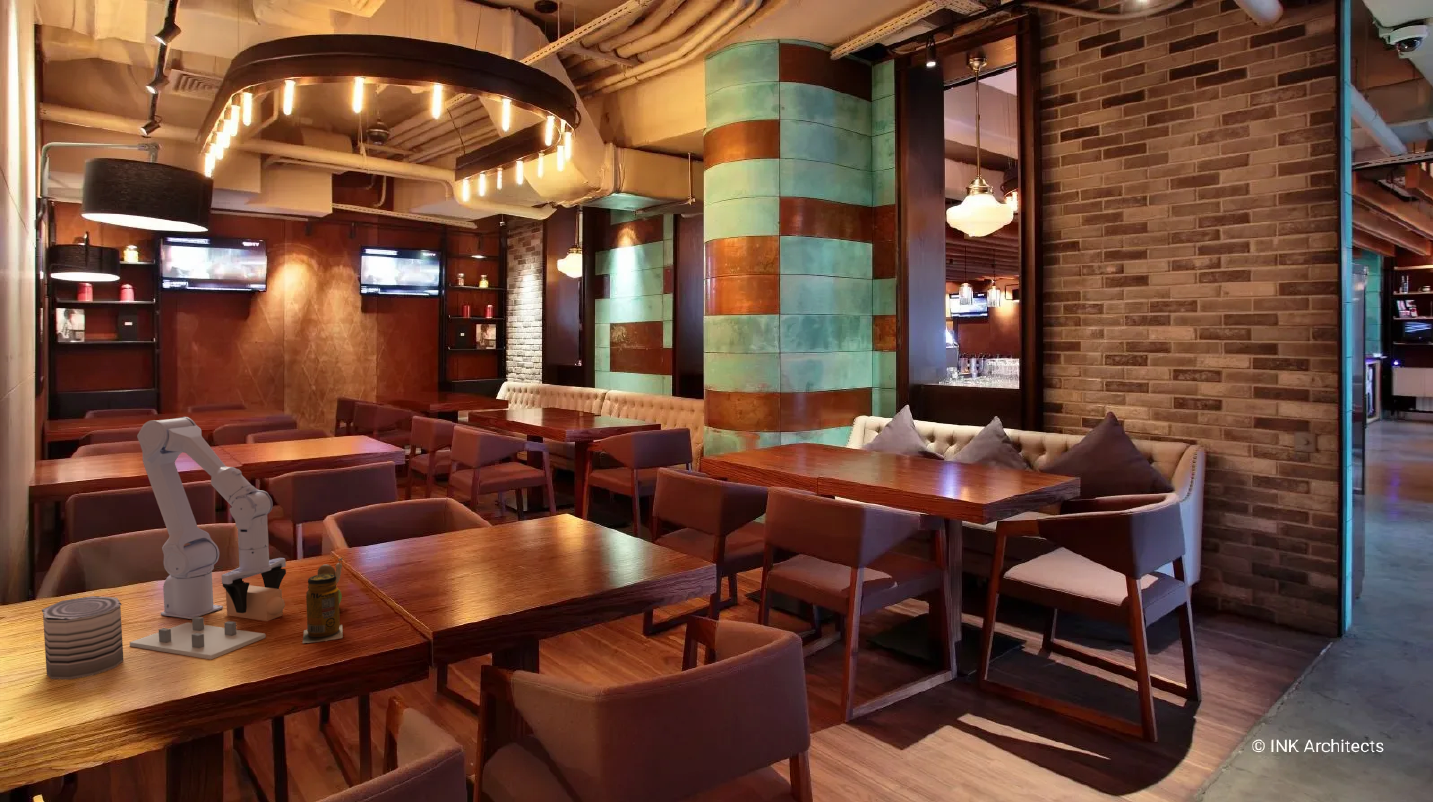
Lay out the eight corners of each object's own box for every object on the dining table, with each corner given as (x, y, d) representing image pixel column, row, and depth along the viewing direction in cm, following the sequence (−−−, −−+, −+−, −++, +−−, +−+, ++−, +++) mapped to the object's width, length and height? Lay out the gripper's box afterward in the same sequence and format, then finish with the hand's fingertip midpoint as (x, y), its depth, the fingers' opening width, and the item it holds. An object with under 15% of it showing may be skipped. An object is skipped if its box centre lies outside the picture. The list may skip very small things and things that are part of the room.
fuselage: (227, 615, 175) (225, 589, 175) (243, 610, 179) (242, 584, 178) (273, 622, 170) (272, 595, 170) (289, 616, 174) (288, 590, 174)
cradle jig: (129, 645, 157) (128, 629, 156) (187, 625, 168) (186, 610, 168) (210, 659, 149) (210, 642, 149) (265, 637, 161) (264, 621, 161)
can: (114, 650, 154) (111, 591, 153) (132, 665, 147) (128, 602, 146) (39, 669, 145) (35, 605, 145) (53, 685, 138) (49, 619, 137)
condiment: (342, 625, 168) (340, 570, 167) (342, 638, 160) (340, 580, 159) (303, 631, 165) (301, 574, 164) (302, 644, 157) (300, 585, 156)
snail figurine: (335, 614, 175) (333, 561, 174) (309, 612, 176) (307, 560, 175) (351, 606, 180) (349, 555, 179) (326, 604, 181) (324, 553, 181)
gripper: (237, 556, 166) (240, 619, 167) (294, 540, 179) (297, 598, 180) (213, 553, 168) (216, 615, 169) (271, 538, 182) (273, 595, 182)
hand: (256, 606), depth 175 cm, fingers open, 7 cm apart
